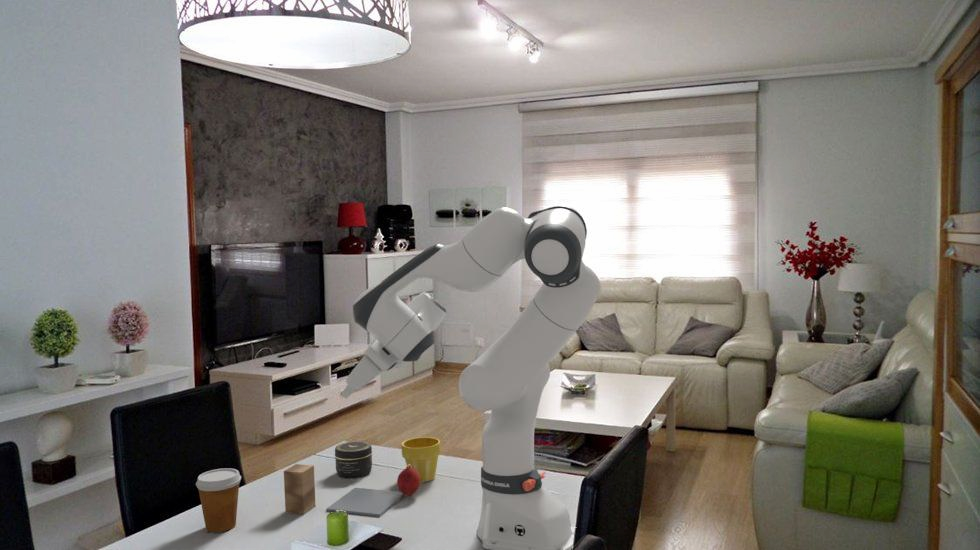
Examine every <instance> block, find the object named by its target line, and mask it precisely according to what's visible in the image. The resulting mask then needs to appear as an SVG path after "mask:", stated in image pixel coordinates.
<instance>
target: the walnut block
mask: <svg viewBox="0 0 980 550" xmlns="http://www.w3.org/2000/svg"><path fill="white" fill-rule="evenodd" d="M315 481H316V480H315V466H314V465H311V464H310V465H309V464H296V463H295V464H294V465H292V466H290V467H288V468H286V469H284V470H283V484H284V485H283V486H284V488H283V489H284V509H285V513H286V514H294V515H301V516H302V515H306V514H307V513H309V512H310V511H311V510H313V509H314V508H316V507H317V506H316V486H315V485H316V484H315Z"/></svg>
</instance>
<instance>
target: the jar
mask: <svg viewBox="0 0 980 550" xmlns="http://www.w3.org/2000/svg"><path fill="white" fill-rule="evenodd" d="M372 449H373V448H372V444H371V443H370V442H367V441H360V440H354V441H353V440H351V441H346V442H343V443H339V444H337V445H336V446H335V448H334V458H335V471H336V474H337V475H338V477H340V478H342V479H350V480H351V479H360V478H364V477H366V476H368V475H369V474H371V471H372V468H373V450H372Z"/></svg>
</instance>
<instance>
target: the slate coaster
mask: <svg viewBox="0 0 980 550" xmlns="http://www.w3.org/2000/svg"><path fill="white" fill-rule="evenodd" d="M404 496H405V495H404V494H403V493H402V492H401V491H395V490H386V489H375V488H373V489H372V488H364V487H362V488H361V487H354V488H352V489H351V490H350V491H348V492H347V493H346V494H344V495H343V496H341V497H340V498H339V499H337V500H336V501H334V502H333V503H332V504H331V505H329V506H328V507H327V508H325V509H326V512H331V511H336V510H343V511H346V512H348V513H347V514H348V515H349V514H352V515H358V516H361V515H362V516H370V517H379V518H380V517H382V516H383V515H384V514H385V513H386V512H387V511H388V510H390V509H391V508H392V507H393V506H394V505H395V504H397V503H398V502H399V501H400V500H401V499H402V498H403V497H404Z"/></svg>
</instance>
